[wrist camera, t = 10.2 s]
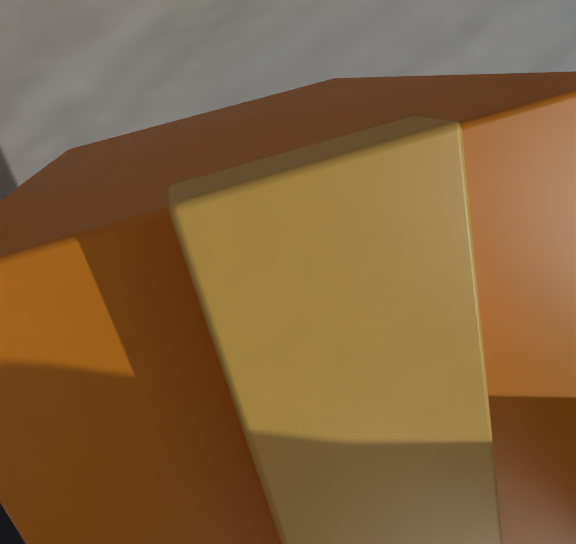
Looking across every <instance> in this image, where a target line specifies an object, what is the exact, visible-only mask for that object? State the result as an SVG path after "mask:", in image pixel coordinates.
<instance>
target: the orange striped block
mask: <svg viewBox="0 0 576 544" xmlns="http://www.w3.org/2000/svg"><path fill="white" fill-rule="evenodd" d="M0 503H1V505H2V506H3V508H4V509H5V511H6V513H7V514H8V516H9V518H10V519H11V521H12V522H13V524H14V526H15V527H16V529H17V530H18V532H19V534H20V535H21V537H22V539H23V540H24V542H25V543H26V544H576V72H546V73H510V74H474V75H438V76H402V77H366V78H334V79H330V80H327V81H323V82H319V83H315V84H312V85H308V86H304V87H300V88H297V89H293V90H289V91H286V92H282V93H278V94H274V95H271V96H267V97H263V98H259V99H256V100H252V101H248V102H244V103H241V104H237V105H233V106H229V107H226V108H222V109H218V110H214V111H211V112H207V113H203V114H200V115H196V116H192V117H188V118H185V119H181V120H177V121H173V122H170V123H166V124H162V125H158V126H155V127H151V128H147V129H143V130H140V131H136V132H132V133H129V134H125V135H121V136H117V137H114V138H110V139H106V140H102V141H99V142H95V143H91V144H87V145H84V146H80V147H76V148H72V149H69V150H67V151H66V152H65V153H63V154H62V155H61V156H59V157H58V158H57V159H55V160H54V161H53V162H51V163H50V164H49V165H47V166H46V167H44V168H43V169H42V170H40V171H39V172H38V173H36V174H35V175H34V176H32V177H31V178H30V179H28V180H27V181H26V182H24V183H23V184H22V185H20V186H19V187H18V188H16V189H15V190H14V191H12V192H11V193H10V194H8V195H7V196H6V197H4V198H3V199H1V200H0Z"/></svg>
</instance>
